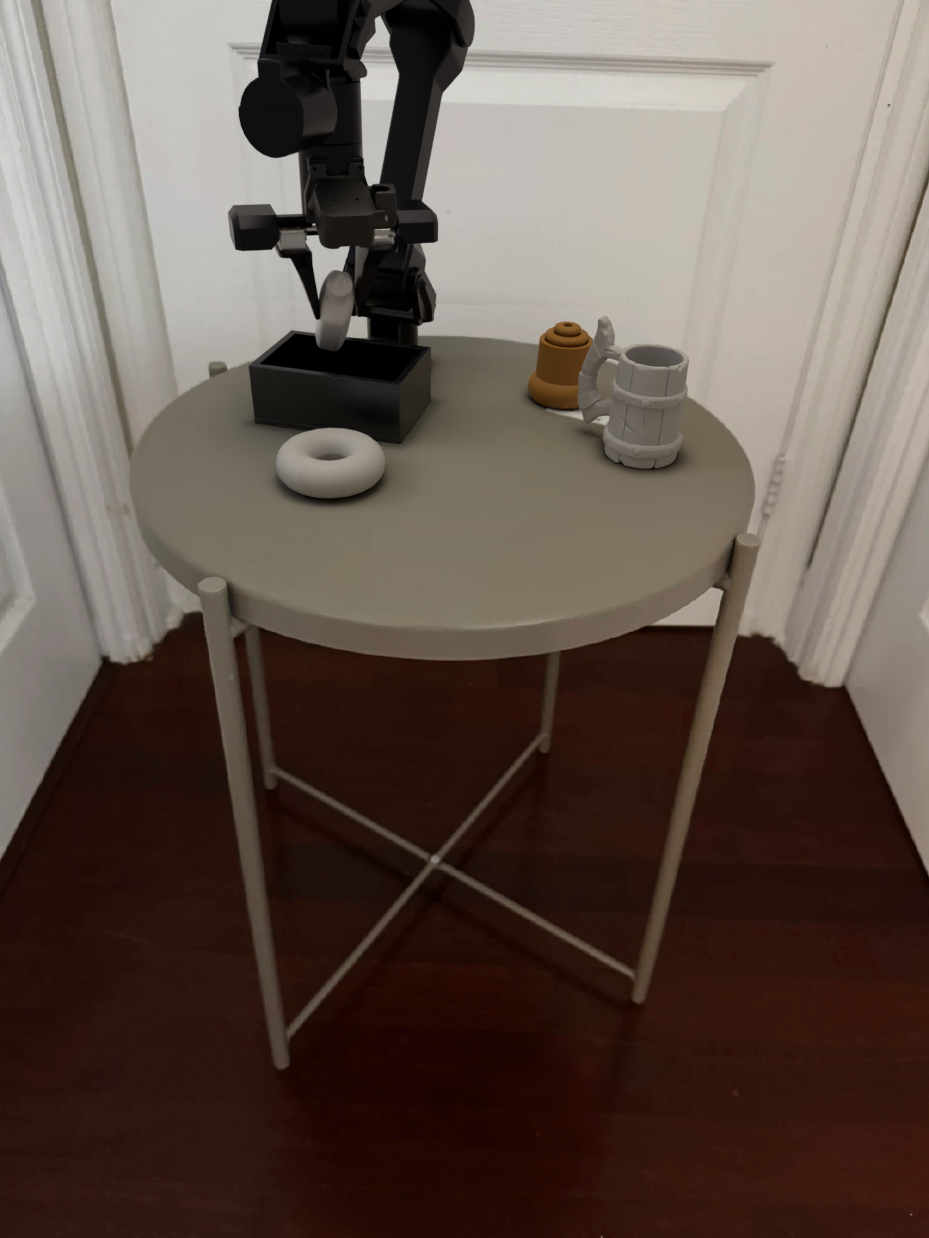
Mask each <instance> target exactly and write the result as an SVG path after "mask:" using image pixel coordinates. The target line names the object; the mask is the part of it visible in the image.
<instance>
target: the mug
mask: <svg viewBox="0 0 929 1238" xmlns="http://www.w3.org/2000/svg"><path fill="white" fill-rule="evenodd" d="M615 336H616V335H615V330H614V327H613V323H612V321H611V319H610V318H609V317H608V316H607V315H603V316H601V317H599V318H598V320H597V328H596V332H595V335H594V338H592V339H593V342H592V344H591V347H590V349H589V351H588V353H587V355H586V359H585V361H584V363H583V366H582V371H581V372H580V373H579V378H578V395H577V400H578V406H579V408H578V410H580V411H581V415H582V421H583V422H584V423H586V424H591V423H593V422H594V421H595V420H597V419H598V418H599V417H608V422H607V423H606V424H605V426H604V428H603V431H602V441H603V443H604V447H603V450H604V453H605V455H606V456H607V457H608V458H609V459H610V460H611V461H613V462H615V463H617V464H618V463H622V464H623V465H624V466H625V467H630V468H634V469H644V470H647V469H652V468H654V469H660V468H665V467H666V466H669V465H671V464H672V463H673V462H674V461H675V460H676V458H677V453H678V452H679V450H680V449H681V447H682V444H683V434H682V432H681V426H682V425H681V424H682V417H683V416H682V415H683V411H684V410H683V409H684V403H685V402H686V400H687V397H688V391H689V387H688V385H687V378H688V370H689V363H690V358H689V357H688V355H687V354H686V353H685V352H684V351H682V350H680V349H679V348H673V347H672V346H668V345H663V344H657V343H656V344H655V343H642V344H640V343H636V344H632V345H629V346H626V347H621V346H618V345H615V341H616V339H615V338H616V337H615ZM608 359H609V360H610V359H611V360H613V361H616V362H618V364H617V368H616V375H615V377H614V378H613V379H612V383H611V394H612V398H610V399H609V398H608V399H603V397H602V395H601V394H600V391H599V388H598V387H597V388H596V384H597V383H598V376H599V373H598V372H599V370H600V368H601V367H602V365H604V364H605V362H606V361H607V360H608ZM597 385H598V384H597Z"/></svg>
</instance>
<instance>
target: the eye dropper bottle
mask: <svg viewBox="0 0 929 1238" xmlns="http://www.w3.org/2000/svg"><path fill="white" fill-rule="evenodd" d="M318 299H319V305H320V319H319V320H316V319H315V323H314V333H315V337H316V342H317V345H318V346H319V347H320V348H321V349H325V350H330V351H338V350H339V349H340V348H341V346H342V344H343V343H344V341H345V338H346V337H348V336H347V335H348V332H349V328H350V323H351V320H352V316H351V315H352V311H353V307H354V301H355V287H354V282H353V279H352V277H351V275H350V274H349V273H346V272H343V270H338V269H332V270H331V271H330V272H329V273H328V274H327V275H326V276H325V278H324V280H323V282H322V284H321V286H320V290H319V294H318Z"/></svg>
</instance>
